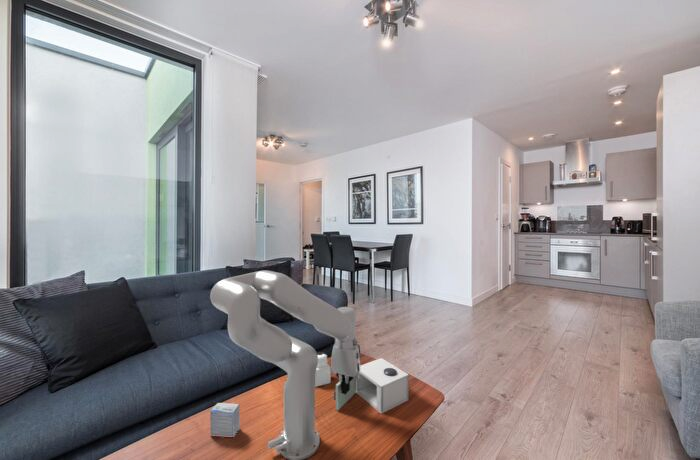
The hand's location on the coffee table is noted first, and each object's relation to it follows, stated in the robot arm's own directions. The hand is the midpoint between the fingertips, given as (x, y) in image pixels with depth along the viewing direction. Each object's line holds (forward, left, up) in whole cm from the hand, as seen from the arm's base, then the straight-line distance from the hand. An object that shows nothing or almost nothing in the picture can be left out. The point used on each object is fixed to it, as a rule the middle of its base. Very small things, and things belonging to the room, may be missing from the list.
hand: (345, 391), depth 102 cm
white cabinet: (+17, -1, -7) cm, 18 cm away
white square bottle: (+2, +22, -7) cm, 24 cm away
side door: (+3, +5, -7) cm, 9 cm away
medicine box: (-38, +13, -7) cm, 41 cm away
